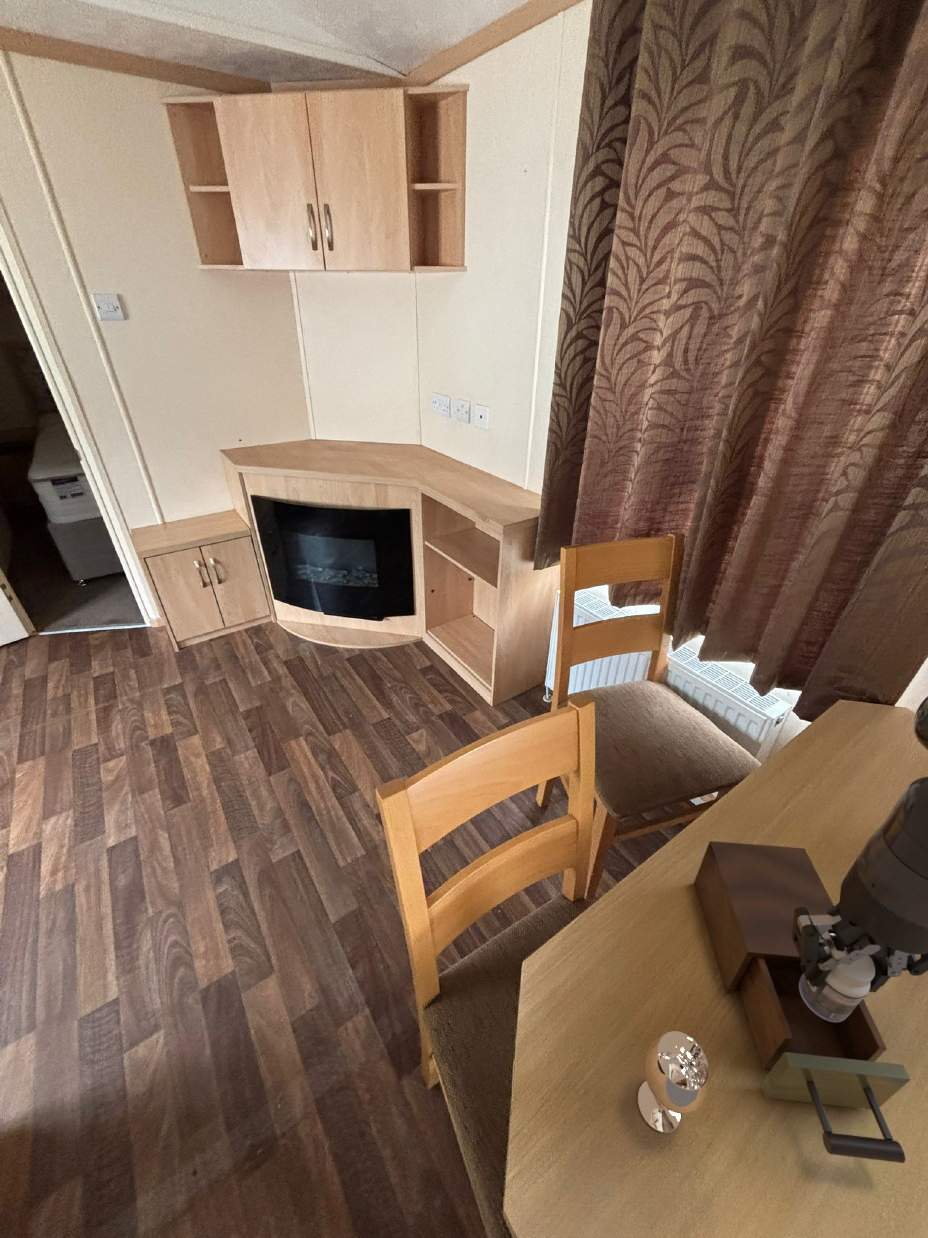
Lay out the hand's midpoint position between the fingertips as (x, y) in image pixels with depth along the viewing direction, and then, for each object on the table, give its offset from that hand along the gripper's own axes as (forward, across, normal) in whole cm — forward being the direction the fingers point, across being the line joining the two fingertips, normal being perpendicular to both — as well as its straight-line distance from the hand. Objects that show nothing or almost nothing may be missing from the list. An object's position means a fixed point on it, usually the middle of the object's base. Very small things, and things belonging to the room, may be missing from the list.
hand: (837, 979), depth 54 cm
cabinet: (+14, 0, +11) cm, 18 cm away
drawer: (+13, 0, -2) cm, 14 cm away
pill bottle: (+5, 0, 0) cm, 5 cm away
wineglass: (+14, -17, -8) cm, 24 cm away
